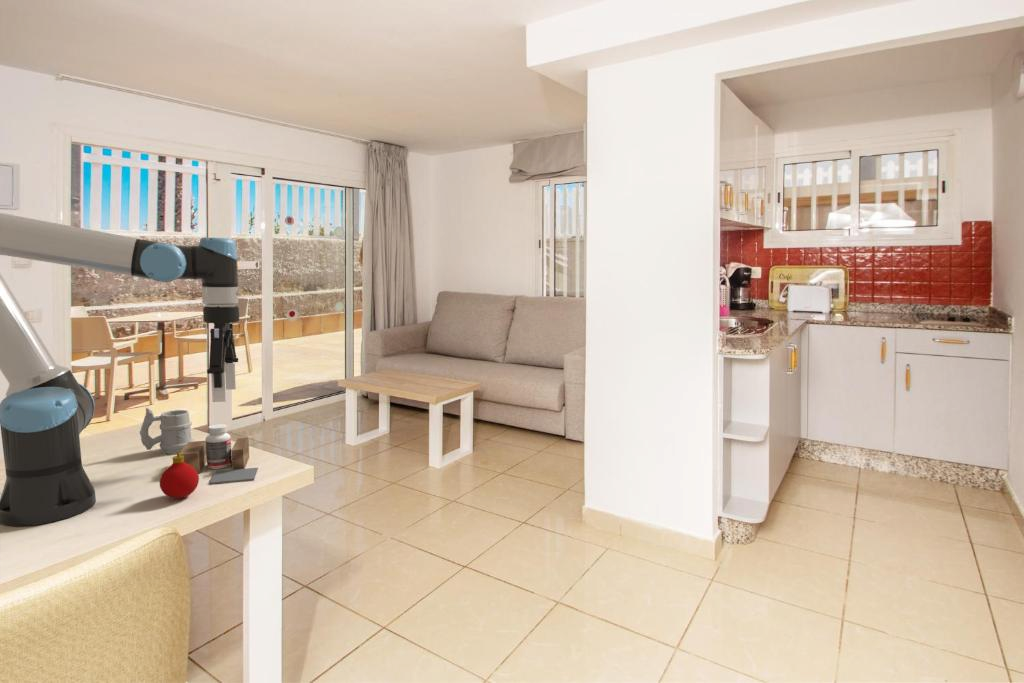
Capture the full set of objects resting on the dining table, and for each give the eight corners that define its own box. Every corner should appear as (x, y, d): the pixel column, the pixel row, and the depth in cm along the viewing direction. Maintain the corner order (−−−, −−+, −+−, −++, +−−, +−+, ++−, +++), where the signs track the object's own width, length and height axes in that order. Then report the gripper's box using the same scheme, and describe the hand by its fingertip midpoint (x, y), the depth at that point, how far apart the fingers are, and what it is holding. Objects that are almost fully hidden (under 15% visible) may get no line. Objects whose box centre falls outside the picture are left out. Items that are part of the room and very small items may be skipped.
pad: (209, 484, 131) (209, 482, 130) (215, 472, 138) (215, 471, 138) (254, 480, 133) (254, 478, 133) (257, 469, 140) (257, 467, 140)
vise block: (179, 475, 136) (178, 454, 135) (189, 461, 145) (188, 441, 145) (244, 470, 140) (243, 449, 139) (249, 456, 149) (248, 437, 148)
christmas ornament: (202, 498, 123) (199, 452, 121) (162, 506, 119) (159, 458, 117) (197, 488, 128) (194, 443, 127) (159, 495, 124) (155, 449, 123)
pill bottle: (233, 466, 142) (231, 427, 141) (208, 471, 139) (206, 430, 138) (230, 460, 146) (227, 421, 145) (205, 464, 143) (203, 425, 142)
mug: (196, 451, 154) (193, 405, 152) (142, 459, 147) (138, 412, 145) (192, 443, 160) (189, 400, 158) (140, 451, 153) (136, 405, 151)
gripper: (229, 309, 127) (233, 406, 129) (246, 302, 151) (249, 384, 153) (190, 309, 125) (195, 408, 127) (213, 302, 148) (217, 385, 151)
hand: (224, 395), depth 140 cm, fingers open, 13 cm apart
